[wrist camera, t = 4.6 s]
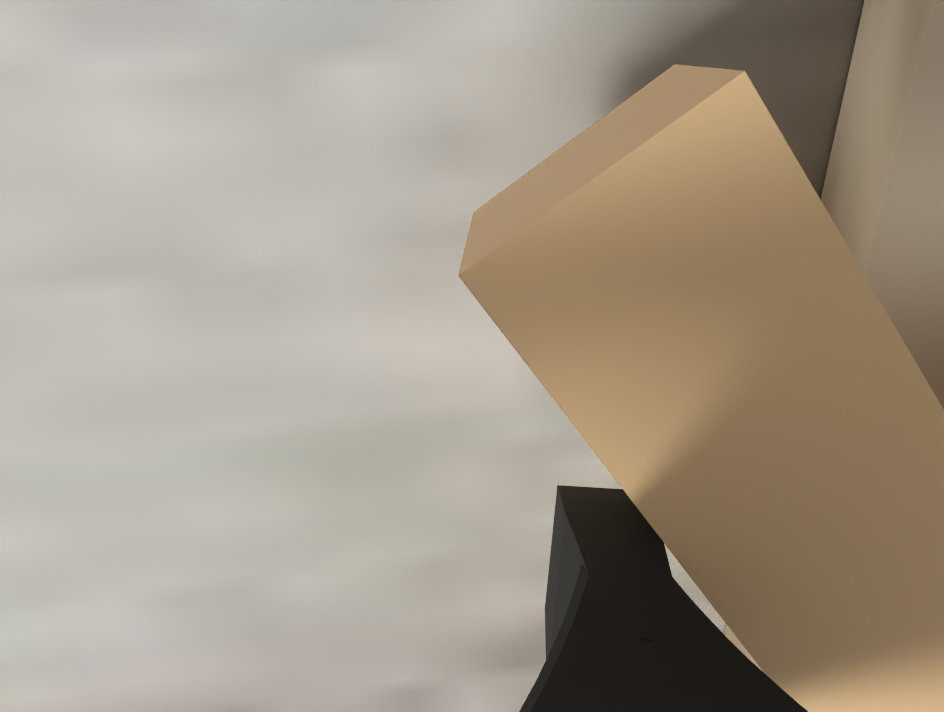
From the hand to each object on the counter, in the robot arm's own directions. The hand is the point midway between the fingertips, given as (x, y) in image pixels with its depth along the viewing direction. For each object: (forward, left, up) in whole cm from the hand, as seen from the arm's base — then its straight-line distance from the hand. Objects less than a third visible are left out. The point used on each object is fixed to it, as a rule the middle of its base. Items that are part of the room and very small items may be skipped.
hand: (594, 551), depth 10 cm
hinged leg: (-1, -4, -1) cm, 4 cm away
